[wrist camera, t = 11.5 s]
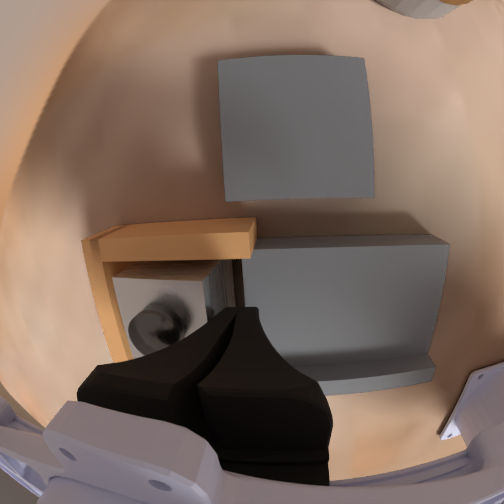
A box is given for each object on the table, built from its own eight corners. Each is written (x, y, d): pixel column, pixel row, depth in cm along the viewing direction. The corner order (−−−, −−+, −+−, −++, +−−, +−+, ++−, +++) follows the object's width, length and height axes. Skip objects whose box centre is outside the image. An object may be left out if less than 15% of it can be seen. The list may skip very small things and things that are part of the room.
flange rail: (431, 215, 13) (465, 228, 10) (411, 348, 15) (431, 381, 12) (116, 225, 14) (81, 240, 11) (143, 352, 17) (121, 383, 13)
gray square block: (353, 71, 11) (364, 58, 9) (361, 193, 13) (374, 198, 11) (226, 74, 12) (217, 60, 10) (233, 196, 13) (225, 201, 11)
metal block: (230, 249, 14) (191, 293, 9) (237, 323, 15) (207, 386, 10) (156, 249, 15) (97, 286, 10) (168, 318, 16) (122, 370, 11)
